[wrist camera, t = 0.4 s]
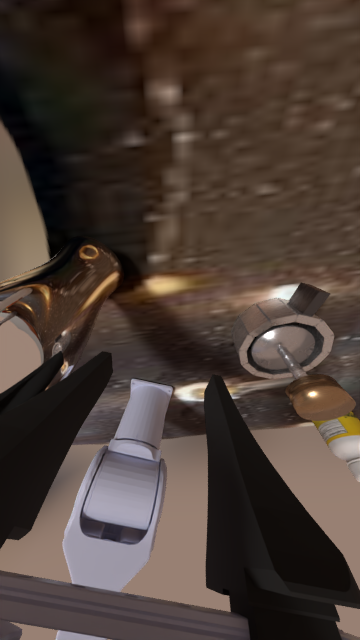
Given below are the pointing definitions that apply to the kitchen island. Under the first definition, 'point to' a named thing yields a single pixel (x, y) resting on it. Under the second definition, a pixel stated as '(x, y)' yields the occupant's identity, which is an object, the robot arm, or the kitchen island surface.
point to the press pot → (280, 313)
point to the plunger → (301, 373)
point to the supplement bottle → (343, 439)
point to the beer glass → (52, 317)
